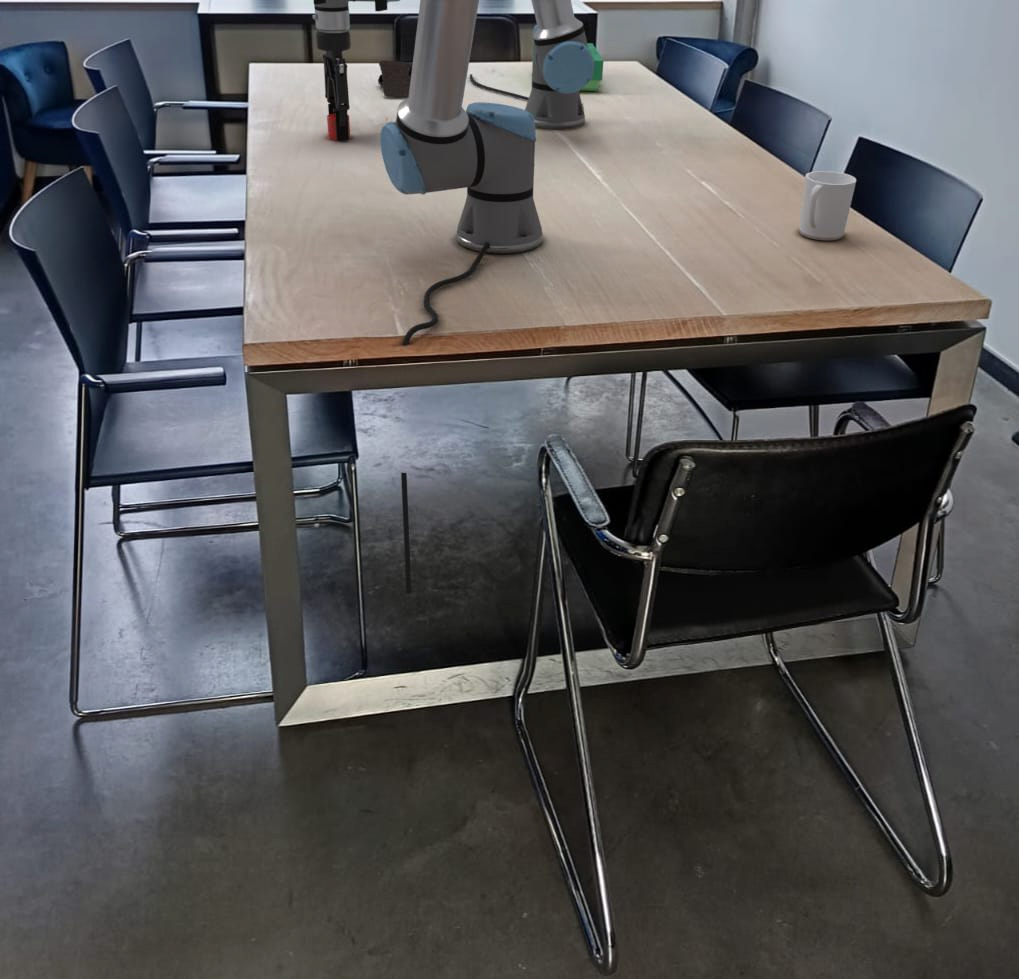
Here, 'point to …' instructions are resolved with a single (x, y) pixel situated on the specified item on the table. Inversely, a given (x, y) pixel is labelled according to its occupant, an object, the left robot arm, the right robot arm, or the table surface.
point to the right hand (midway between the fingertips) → (339, 135)
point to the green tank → (597, 72)
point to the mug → (826, 204)
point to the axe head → (395, 78)
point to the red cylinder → (334, 126)
